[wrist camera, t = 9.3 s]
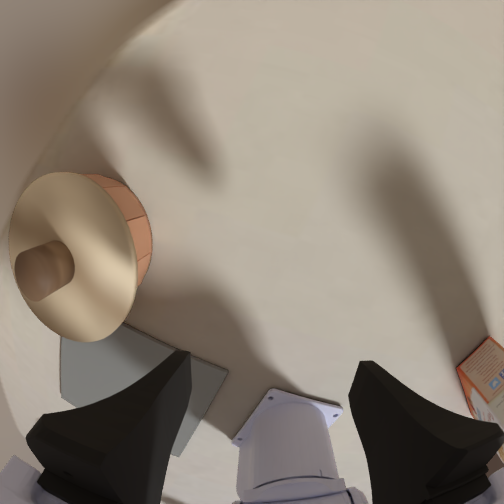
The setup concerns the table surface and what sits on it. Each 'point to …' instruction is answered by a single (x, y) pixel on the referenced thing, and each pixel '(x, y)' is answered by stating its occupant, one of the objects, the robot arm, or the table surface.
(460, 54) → the table surface
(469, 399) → the cracker box
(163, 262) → the table surface
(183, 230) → the table surface
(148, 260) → the bowl
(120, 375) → the mat
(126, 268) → the lid
